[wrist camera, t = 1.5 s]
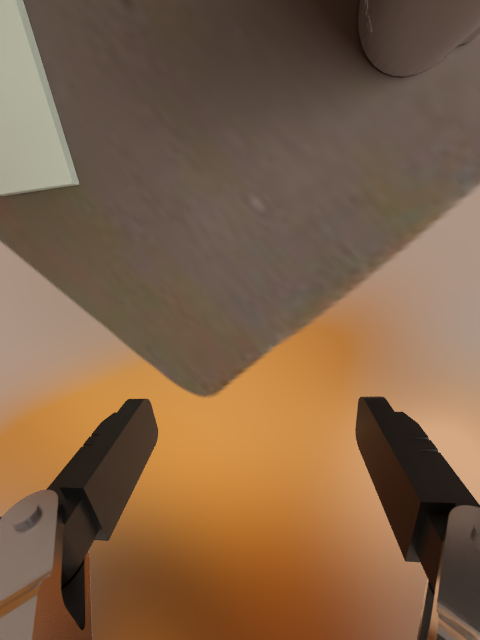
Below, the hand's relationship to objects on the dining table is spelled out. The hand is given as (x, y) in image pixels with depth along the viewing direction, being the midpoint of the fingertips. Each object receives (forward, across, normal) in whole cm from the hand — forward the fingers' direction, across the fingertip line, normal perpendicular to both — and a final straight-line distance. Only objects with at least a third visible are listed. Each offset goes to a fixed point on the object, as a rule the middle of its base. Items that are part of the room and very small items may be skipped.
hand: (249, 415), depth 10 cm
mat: (+22, +25, -21) cm, 39 cm away
